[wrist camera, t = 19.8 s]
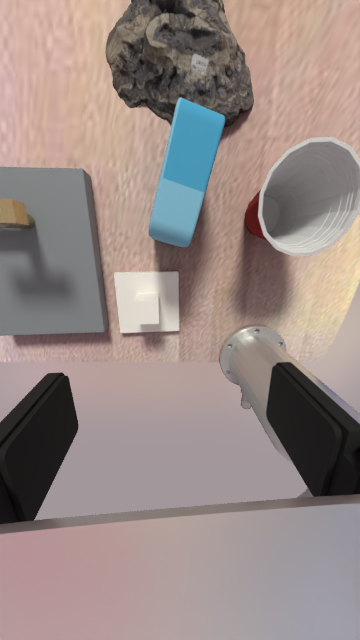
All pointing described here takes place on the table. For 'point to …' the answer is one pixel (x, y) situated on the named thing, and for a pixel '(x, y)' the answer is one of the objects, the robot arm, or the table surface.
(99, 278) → the plate
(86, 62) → the table surface
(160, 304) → the lid
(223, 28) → the geode
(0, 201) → the tan t-shaped piece
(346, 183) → the plastic cup
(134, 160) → the table surface
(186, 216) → the data package
